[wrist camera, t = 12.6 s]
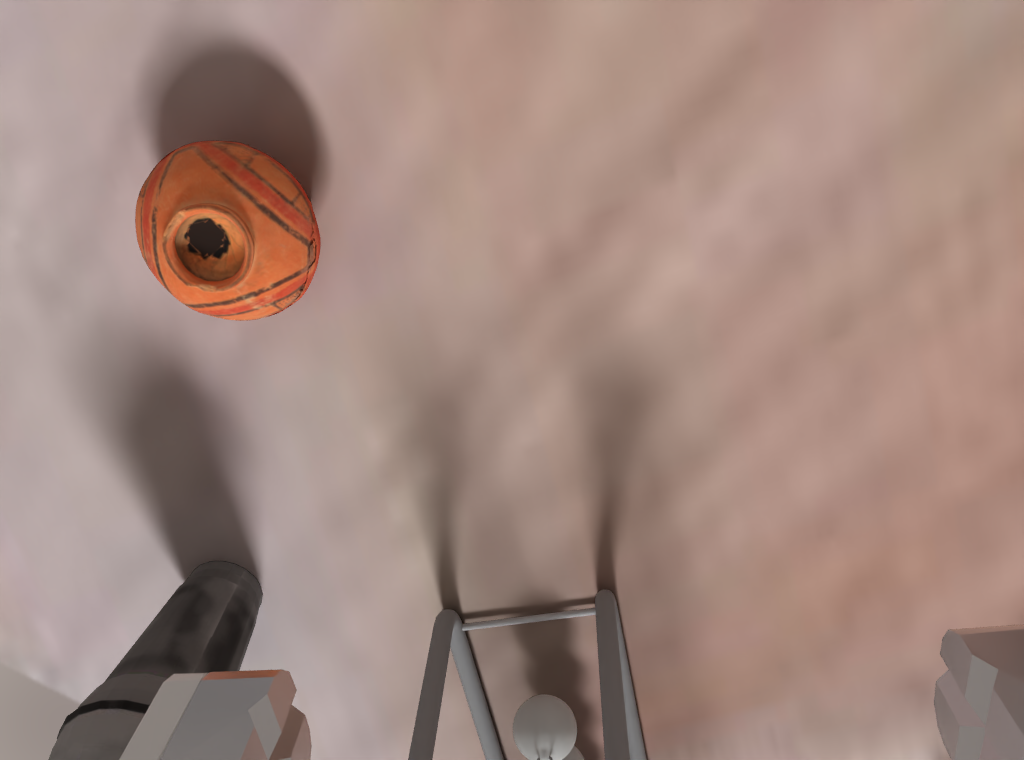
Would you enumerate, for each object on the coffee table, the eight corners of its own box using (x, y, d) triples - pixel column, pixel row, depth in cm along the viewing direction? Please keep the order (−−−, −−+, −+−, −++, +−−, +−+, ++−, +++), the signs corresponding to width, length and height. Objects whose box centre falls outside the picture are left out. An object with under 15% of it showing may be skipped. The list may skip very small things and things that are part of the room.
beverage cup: (145, 552, 47) (-108, 900, 29) (259, 533, 46) (70, 881, 28) (194, 643, 50) (-7, 1008, 32) (302, 626, 49) (156, 995, 31)
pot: (126, 217, 38) (64, 230, 31) (245, 105, 37) (207, 94, 30) (250, 340, 40) (217, 376, 33) (365, 236, 39) (354, 252, 33)
